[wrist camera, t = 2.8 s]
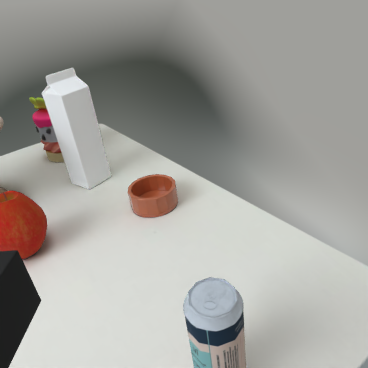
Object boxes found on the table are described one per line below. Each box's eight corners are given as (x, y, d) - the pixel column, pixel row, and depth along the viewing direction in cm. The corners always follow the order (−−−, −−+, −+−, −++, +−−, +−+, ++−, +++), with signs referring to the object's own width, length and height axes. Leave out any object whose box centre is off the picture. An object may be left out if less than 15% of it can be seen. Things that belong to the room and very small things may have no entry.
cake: (64, 142, 92) (46, 85, 84) (98, 144, 88) (82, 85, 80) (37, 161, 83) (14, 100, 76) (73, 164, 80) (52, 100, 72)
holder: (187, 199, 61) (185, 181, 60) (154, 223, 57) (150, 205, 55) (155, 186, 67) (152, 170, 65) (122, 207, 62) (118, 190, 60)
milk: (71, 183, 72) (34, 75, 61) (94, 170, 76) (63, 66, 65) (90, 190, 68) (54, 77, 57) (112, 176, 72) (83, 67, 61)
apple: (58, 256, 52) (34, 196, 47) (0, 276, 50) (-33, 216, 45) (52, 227, 59) (31, 172, 54) (1, 244, 57) (-27, 188, 51)
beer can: (250, 364, 35) (247, 277, 29) (243, 414, 31) (237, 327, 25) (203, 354, 36) (191, 270, 30) (191, 401, 32) (173, 315, 26)
